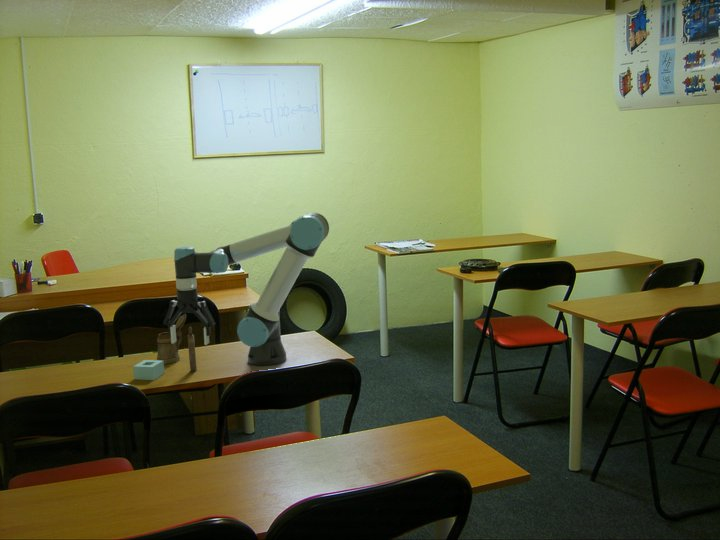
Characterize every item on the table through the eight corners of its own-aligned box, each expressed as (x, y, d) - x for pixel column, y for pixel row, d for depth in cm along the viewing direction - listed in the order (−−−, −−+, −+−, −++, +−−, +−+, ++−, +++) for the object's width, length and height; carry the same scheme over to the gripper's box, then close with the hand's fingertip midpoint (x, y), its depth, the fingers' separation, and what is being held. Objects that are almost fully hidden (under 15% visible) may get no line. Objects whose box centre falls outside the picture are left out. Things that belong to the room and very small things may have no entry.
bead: (164, 373, 264) (163, 360, 263) (154, 380, 257) (152, 367, 256) (145, 372, 266) (144, 359, 265) (134, 379, 258) (133, 366, 257)
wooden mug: (193, 358, 282) (190, 315, 279) (160, 365, 274) (157, 321, 271) (185, 353, 289) (182, 311, 286) (153, 360, 282) (149, 317, 278)
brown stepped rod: (197, 369, 267) (194, 325, 264) (195, 371, 264) (191, 327, 262) (192, 369, 267) (188, 325, 264) (189, 371, 265) (185, 327, 262)
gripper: (221, 287, 261) (225, 341, 265) (161, 285, 267) (165, 339, 270) (213, 291, 254) (216, 347, 258) (151, 289, 259) (155, 344, 263)
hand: (190, 343), depth 264 cm, fingers open, 13 cm apart
